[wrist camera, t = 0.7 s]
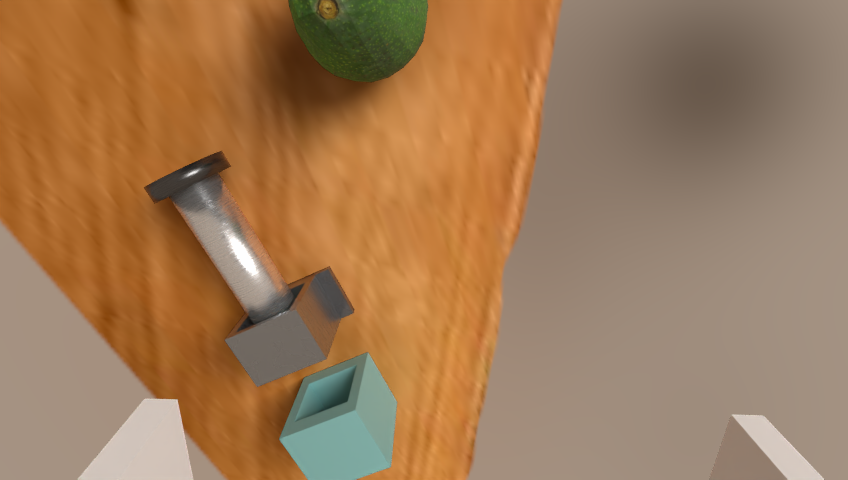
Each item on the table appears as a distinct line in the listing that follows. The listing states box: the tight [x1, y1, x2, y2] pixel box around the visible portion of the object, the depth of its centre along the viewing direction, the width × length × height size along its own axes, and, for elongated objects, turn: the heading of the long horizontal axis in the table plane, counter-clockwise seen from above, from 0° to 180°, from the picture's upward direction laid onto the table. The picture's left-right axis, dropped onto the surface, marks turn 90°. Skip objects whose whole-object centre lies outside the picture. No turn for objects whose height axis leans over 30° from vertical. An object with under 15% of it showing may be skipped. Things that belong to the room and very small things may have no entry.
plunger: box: [144, 151, 296, 325], centre depth 35 cm, size 17×6×6 cm, turn 25°
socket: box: [279, 352, 397, 480], centre depth 39 cm, size 6×7×8 cm
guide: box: [225, 266, 354, 387], centre depth 37 cm, size 4×8×7 cm, turn 115°
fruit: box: [289, 0, 428, 82], centre depth 27 cm, size 8×8×12 cm
